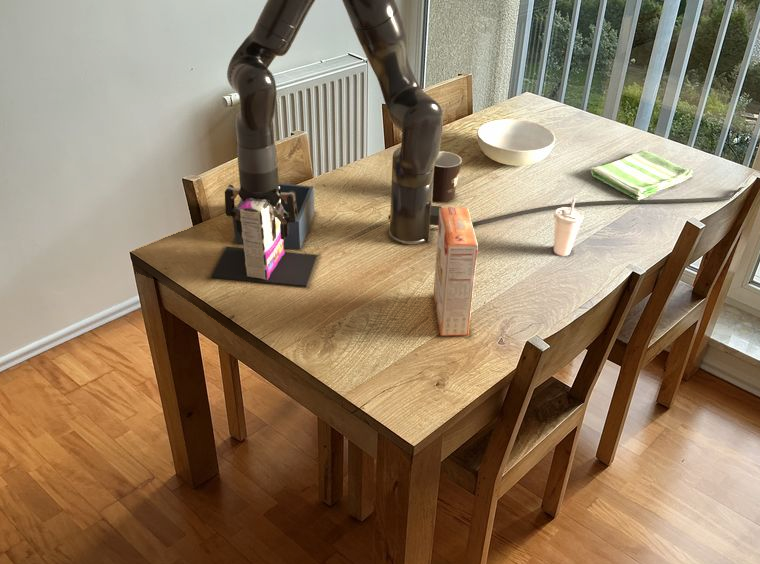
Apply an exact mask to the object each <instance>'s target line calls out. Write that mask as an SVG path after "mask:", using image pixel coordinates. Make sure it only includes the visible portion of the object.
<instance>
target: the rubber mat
mask: <svg viewBox="0 0 760 564" xmlns="http://www.w3.org/2000/svg"><path fill="white" fill-rule="evenodd" d="M284 252H285V253H284V255H283V256H282V258H281V259H280V261H279V263H278V264H277V266H276V267H275V269H274V270H273V272H272V274H271V275H270V277H269V278H268V280H263V279H257V278H251V277H247V276H246V266H245V257H244V248H243V247H235V246H226V247H225V249H224V251H223V252H222V254H221V256H220V259H219V260H218V262H217V264H216V266H215V267H214V270H213V272H212V274H211V275H210V279H219V280H229V281H240V282H248V283H261V284H269V285H280V286H290V287H299V288H300V287H301V288H307V287H308V284H309V281H310V278H311V275H312V272H313V270H314V266H315V264H316V261H317V258H318V254H310V253H309V254H308V253H299V252H298V253H297V252H289V251H288V252H287V251H284Z"/></svg>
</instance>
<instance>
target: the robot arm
mask: <svg viewBox="0 0 760 564" xmlns="http://www.w3.org/2000/svg"><path fill="white" fill-rule="evenodd" d="M341 2H342V3H343V6H344V8H345V11H346V13H347V16H348V19H349V21H350V24H351V26H352V28H353V31H354V33H355V36H356V37H357V40H358V42H359V45H360V46H361V48H362V50H363V52H364V55H365V57H366V59H367V61H368V64H369V65H370V67H371V69H372V71H373V73H374V75H375V77H376V79H377V81H378V85H379V88H380V90H381V93H382V97H383V100H384V101H383V102H384V105H385V107H386V111H387V114H388V116H389V119H390V121H391V123H392V124H393V125H394V126H395V127H396V128H397V130H399V131H400V132H401V142H400V143H401V144H400V146H399V147H398V148H396V149H395V150H394V151H393V153H392V158H391V159H392V161H391V184H390V185H391V186H390V207H389V208H390V211H389V212H390V213H389V215H388V220H389V229H388V235H389V237H390V238H391V240H393V241H395V242H397V243H400V244H403V245H418V244H419V245H420V244H423V243H429V241H430V237H431V228H432V227H431V226H438V220H439V208H442V206H441V205H433V202H434V201H433V181H434V167H435V161H436V159H437V157H438V155H439V152H440V151H441V143H442V136H443V135H442V134H443V128H444V125H443V123H444V115H443V110H442V107H441V105H440V104H439V102H438V101H437V100H435V99H434V98H433V97H431V96H430V95H429V94H428V93H426V91H424V90H423V89H422V87H421V86H420V84H419V82H418V80H417V79H416V76H415V75H414V72H413V70H412V68H411V66H410V64H409V59H408V40H407V31H406V27H405V23H404V21H403V17H402V14H401V12H400V9H399V7H398V5H397V2H396V0H341ZM314 3H316V0H266V2H265V5H264V6H263V8H262V11H261V12H260V15H259V17H258V19H257V21H256V23H255V25H254V27H253V29H252V31H251V32H250V33H249V34H248V35H247V36H246V38H245V39H244V40H243V41H242V43H241V45H239V47H237V49H236V51H235V52H234V53H233V55H232V56H231V59H230V61H229V63H228V67H227V69H226V70H227V71H226V79H227V82H228V84H229V86H230V87H231V88H232V89H233V90H234V91H235V93H237V95H238V97H239V103H240V105H239V107H240V110H239V112H237V114H236V117H235V131H236V141H237V142H236V143H237V144H236V145H237V147H236V157H237V167H238V178H239V186H240V188H239V187H235V186H234V185H233V184H228V186H227V187H226V189H225V191H224V203H225V204H224V210H225V216H226V217H229V218H232V217H234V218H235V219H236V228H237V232H238V233H240V235H241V236H242V231H241V221H240V212H239V210H238V209H236V207H235V204H236V203H235V199H236V198H237V196H239V198H240V200H241V199H242V200H243V201H245V200H246V199H247V198H249V200H251V201H255V199H262V202H268V204H269V208H270V212H271V213H272V215H273V216H274V217H277V219H278V220H279V221H280V222H281V223H280V232H281V239H283V240H285V238H286V237H287V236H288V234H289V222H292V223H294V222H295V220H296V219H297V217H298V214H299V213H298V212H297V204H296V195H295V192H294V191H293V190H291V191H290V192H289V193H286V192H281V191H280V189H279V183H280V182H279V166H278V162H279V160H278V159H279V158H278V152H277V147H276V141H275V127H274V117H275V112H276V106H277V105H276V104H277V96H278V95H277V93H278V91H277V83H276V79H275V77H274V74H273V73H272V71H271V70H270V69H269V67H270V65H271V64H272V63H273V62H274V60H275V59H276V57H283V56H285V55H286V54H287V53H288V52H289V50H290V49H291V47H292V46H293V43H294V41H295V39H296V38H297V35H298V33H299V31H300V30H301V28H302V26H303V24H304V21H305V20H306V18H307V16H308V14H309V12H310V10H311V9H312V7H313V5H314ZM744 187H745V186H741V187H739V188H737V189H736V191H734V192H733V193H732V194H730V195H727V196H717V197H697V198H695V197H694V198H663V199H661V198H660V199H658V198H657V199H656V198H655V199H654V198H653V199H641V200H637V199H617V200H616V199H615V200H595V201H581V202H575V203H574V208H575V207H585V206H602V205H603V206H604V205H624V204H625V205H628V204H629V205H630V204H635V205H636V204H677V203H678V204H679V203H701V202H704V203H705V202H723V201H728V200H731V199H730V198H732V197H733V196H734V195H735V194H736V193H737V192H739V191H740V190H741V189H742V188H744ZM280 199H283V200H284V202H285V204H288V212H286V211H285V210H284V209H283V206H282V205H281V203H280V202H279V200H280ZM732 199H733V198H732ZM571 205H572V202H570V203H562V204H555V205H554V204H553V205H548V206H542V207H535V208H530V209H525V210H520V211H515V212H511V213H507V214H503V215H500V216H495V217H492V218H487V219H483V220H478V221H473V222H472V225H473V227H476V226H481V225H487V224H491V223H493V222H497V221H502V220H505V219H511V218H514V217H519V216H522V215H528V214H533V213H538V212H544V211H545V212H546V211H551V210H557V209H558V208H562V207H571Z"/></svg>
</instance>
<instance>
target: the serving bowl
mask: <svg viewBox="0 0 760 564" xmlns="http://www.w3.org/2000/svg"><path fill="white" fill-rule="evenodd" d="M476 136H477V137H476V138H477V143H478V146H479V148H480V150H481V152H483V154H484V155H486V156H487V158H489V159H491V160H492V161H495V162H496V163H500V164H503V165H507V166H517V167H519V166H528V165H529V166H530V165H533V164H537V163H539V162H540V161H542V160H544V159H546V158H547V157H548V156H549V154H550V153H551V151H552V150H553V147H554V145H555V142H556V137H555V134H554V133H553V131H552V130H550V129H549V128H547V127H545V126H544V125H542V124H540V123H537V122H534V121H529V120H524V119H515V118H504V119H503V118H502V119H495V120H490V121H488V122H484V123H483V124H482V125H480V126H479V127H478V129H477V131H476Z"/></svg>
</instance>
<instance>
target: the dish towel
mask: <svg viewBox="0 0 760 564" xmlns="http://www.w3.org/2000/svg"><path fill="white" fill-rule="evenodd" d="M590 172H591V176H592V177H594V178H596V179H597V180H599V181H601V182H603V183H605V184H607V185H608V186H610V187H612V188H614V189H616V190H618V191H620V192H622V193H623V194H625V195H627V196H629V197H631V198H632V199H634V200H643V199H645V198H647V197H649V196H651V195H654V194H656V193H657V192H659V191H661V190H663V189H667V188H670V187H673V186H675V185H677V184H679V183H682V182H684V181H686V180H688V179H690V178H691V177H693V175H692V174H693V173H694V171H693V170H691V169H689V168H685V167H682V166H680V165H677V164H675V163H674V162H671V161H670V160H668V159H665V158H664V157H661V156H659V155H657V154H655V153H653V152H650V151H648V150H645V149H643V150H640V151H637V152H634V153H633V154H630V155H628V156H625V157H623V158H620V159H618V160H616V161H615V160H614V161H612V162H609V163H605V164H602V165H598V166H595V167H590Z"/></svg>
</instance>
